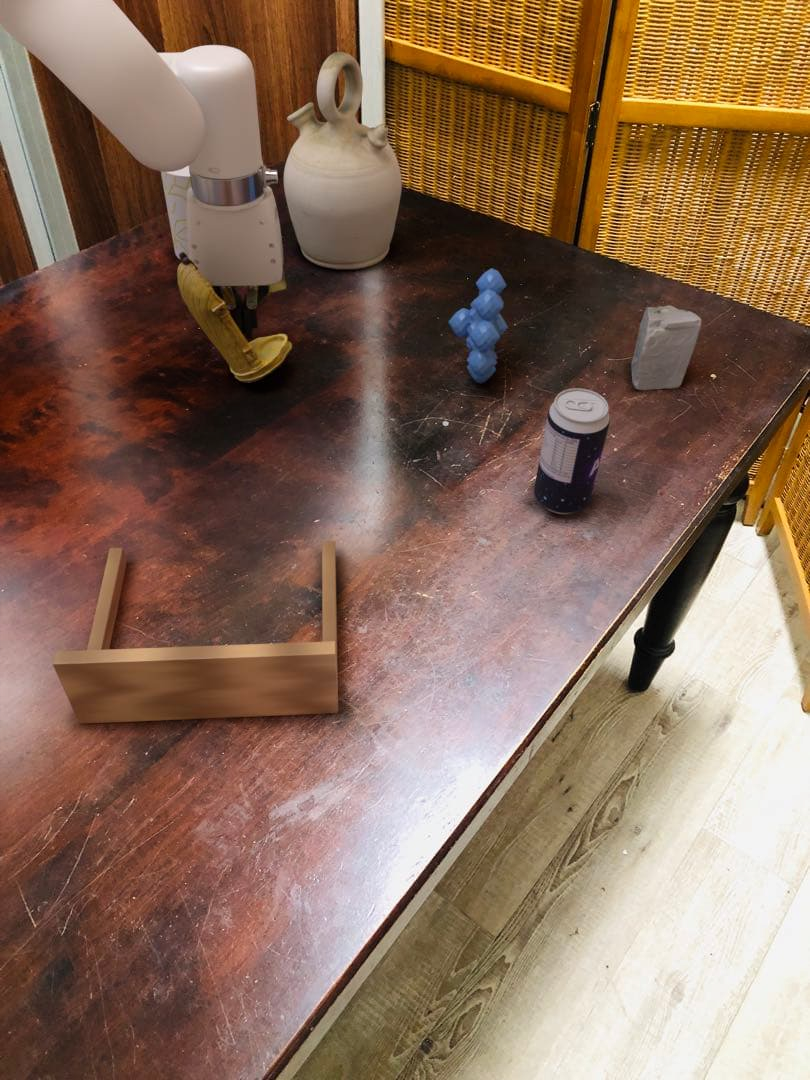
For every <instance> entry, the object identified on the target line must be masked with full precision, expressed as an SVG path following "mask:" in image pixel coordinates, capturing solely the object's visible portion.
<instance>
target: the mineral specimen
mask: <svg viewBox="0 0 810 1080" xmlns="http://www.w3.org/2000/svg"><path fill="white" fill-rule="evenodd" d="M702 320H703V317H700V316H699V315H698V314H696V313H694V312H692V311H691V310H688V311H687V310H685V309H679V308H676V307H675V306H673V305H669V304H668V305H665V306H662V305H658V306H657V307H654V306H648V307H646V308H644V313H643V316H642V319H641V321H640V325H639V329H638V334H637V338H636V339H637V340H636V342H635V343H636V344H635V349H634V352H633V356H632V357H633V358H632V361H631V364H630V365H631V367H630V368H631V380H632V381H631V383H632V386H633V388H634V389H635V390H636V391H652V390H659V391H660V390H663V389H669V390H670V389H677V388H680V387H681V386H682V383H683V381H684V378H685V375H686V373H687V370H688V367H689V364H690V361H691V360H692V357H693V352H694V350H695V347H696V345H697V340H698V338H699V336H698V335H699V333H700V330H701V328H702Z"/></svg>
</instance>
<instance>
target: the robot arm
mask: <svg viewBox="0 0 810 1080" xmlns="http://www.w3.org/2000/svg"><path fill="white" fill-rule="evenodd" d="M0 26H1V28H2V29H4V31H5V32H6V33H7V34H9V35H10V36H11V37H12V38H13V39H14V40H15V41H16V42H18V43H19V44H20V45H21V46H22V47H24V48H25V49H26V50H27V51H29V52H30V53H31V54H32V55H33V56H34V57H36V59H38V60H39V61H40V62H41V63H42V64H43V65H44V66H45V67H46V68H47V69H48V70H49V71H50V72H51V73H52V74H54V75H55V76H56V77H57V78H58V80H60V82H62V83H63V84H64V86H65V87H67V88H68V90H69V91H70V92H71V93H72V94H73V95H74V97H76V98H77V99H78V100H79V101H80V102H81V103H82V104H83V105H84V106H85V107H86V108H87V109H88V110H89V111H90V112H91V113H92V115H94V117H96V118H97V119H98V121H99V122H100V123H101V124H102V125H103V126H104V127H105V128H106V129H107V130H108V131H109V132H110V133H111V134H112V135H113V137H115V138H116V140H118V142H119V143H120V144H121V145H122V146H123V147H124V148H125V149H126V150H127V151H128V153H130V154H131V155H132V156H133V158H134V159H135V160H136V161H138V162H139V163H140V164H142V165H143V166H145V167H147V168H148V169H151V170H153V171H157V172H161V171H163V172H173V171H177V170H181V169H183V168H185V167H187V166H188V165H189V172H190V179H191V186H192V187H191V188H189V189H188V191H187V202H186V220H187V238H188V250H189V259H190V260H191V261H192V262H193V263H194V264H195V266H197V268H198V272H199V273H200V274H201V275H202V277H203V278H204V279H205V280H206V281H207V282H208V281H209V282H210V284H211V286H212V287H213V290H214V292H215V294H217V296H218V297H220V299H222V300H223V301H224V302H225V306H226V307H227V310H228V311H229V314H230V316H231V317H232V319H233V321H234V322H235V324H236V325H237V327H238V328H239V329H240V331H241V333H242V334H243V335H244V337H245V339H246V340H252V339H253V331H254V330H256V329H258V328H259V318H258V311H257V310H258V309H257V306H258V304H259V303H260V302H261V301H262V300H263V299H264V298H265V297H266V296H267V295H268V294H269V293H276V292H279V291H283V290H286V289H287V287H288V279H287V276H286V273H285V269H284V267H283V266H284V245H283V239H282V238H283V237H282V231H281V224H280V218H279V211H278V207H277V203H276V199H275V196H274V192H273V188H272V187H270V186H271V184H278V182H279V179H278V178H279V177H278V170H277V169H271V168H267V165H266V164H265V165H264V160H263V157H262V156H263V155H262V146H261V135H260V134H261V133H260V126H259V125H260V122H259V121H260V120H259V113H258V100H257V90H256V89H257V88H256V78H255V70H254V66H253V63H252V60H251V59H250V58H249V56H248V54H246V53H245V52H244V51H242V50H241V49H238V48H236V47H232V46H228V45H223V44H222V45H221V44H207V45H199V46H195V47H191V48H190V49H187V50H185V51H182V52H157V51H156V49H155V48H154V47H153V46H152V45H151V44H150V42H149V41H148V40H147V38H146V37H145V36H144V35H143V33H142V32H140V30H139V29H138V28H137V27H136V26H135V25H134V23H133V22H132V21H131V20H130V19H129V17H128V16H127V15H126V14H125V13H124V11H123V10H122V9H121V8H120V6H118V5H117V3H116V2H115V1H114V0H0ZM237 287H246V293H245V294H244V298H242V296H241V295H240V294H239V293H238V290H237Z"/></svg>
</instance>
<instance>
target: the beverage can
mask: <svg viewBox="0 0 810 1080" xmlns="http://www.w3.org/2000/svg"><path fill="white" fill-rule="evenodd" d="M609 409H610V408H609V404H608V401H607V400H606V399H605V398H604V397H603V396H602V395H601V394H599V393H597V392H595V391H593V390H590V389H587V388H579V387H578V388H575V387H574V388H569V389H565V390H562V391H561V392H559V393H558V394H557V395H556V396H555V398H554V401H553V402H552V403H551V404H550V406H549V408H548V411H547V417H546V421H545V427H544V432H543V438H542V444H541V448H540V449H541V450H540V453H539V454H540V455H539V459H538V465H537V471H536V475H535V481H534V487H533V494H534V498H535V499H536V500H537V501H538V503H540V505H542V506H543V507H544V508H545V509H546V510H548V511H550V512H552V513H554V514H557V515H558V514H559V515H569V514H570V515H571V514H573V513H577V512H580V511H582V510H583V509H586V507H587V506H588V505H590V502H591V500H592V494H593V493H594V488H595V484H596V480H597V475H598V473H599V468H600V463H601V460H602V456H603V452H604V448H605V444H606V440H607V435H608V431H609V427H610V423H611V416H610V413H609Z"/></svg>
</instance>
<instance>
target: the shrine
mask: <svg viewBox="0 0 810 1080" xmlns="http://www.w3.org/2000/svg"><path fill="white" fill-rule="evenodd" d="M179 257H180V259H181V260H180V259H179V260H180V263H179V265H178V267H177V271H176V276H177V285H178V289H179V293H180V295H181V298H182V300H183V302H184V303H185V305H186V306H187V308H188V311H189V312H190V314H191V315H192V316H193V318H194V320H195V321H196V322H197V324H198V325H199V327H200V328H201V330H202V331H203V332H204V334H205V335H206V337H207V338H208V339H209V341H210V342H211V343H212V344H213V346H214V347H215V348H216V349H217V351H218V352H219V353H220V354H221V356H222V358H223V359H224V361H226V363H227V364H228V366H229V369H230V373H231V374H233V377H234V379H236V380H238V381H239V382H242V383H246V384H247V383H249V384H250V383H252V382H256V381H260V380H261V379H263V378H266V376H268V375H270V374H271V373H273V372H274V371H276V370H277V369H278V368H280V367H281V366H282V365H283V363H284V362H285V360H286V358H287V356H288V355H289V354H290V353H291V351H292V350H293V343H292V342H291V341H289V340H288V339H289V337H288V334H286V333H277V334H271V335H267V336H261V337H257V338H254V339H253V340H251V341H249V342H248V339H247V338H246V337H244V335H243V334H242V333H241V331H240V329H239V328H238V327H237V325H236V324H235V322H234V321H233V319H232V317H231V316H230V311H229V309H228V308H227V307H226V306H225V302H224V301H223V300H222V299H220V297H218V296H217V294H215V292H214V290H213V287H212V286H211V284H210V282H209V281H208V282H207V281H206V280H205V279H204V278H203V277H202V275H201V274H200V273H199V272H198V268H197V266H195V264H194V263H193V262H192V261H191V260H190V259H189V258H188V257H187V255H186V254H185V253H184V252H183V251H182V252H181V253H179Z"/></svg>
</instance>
